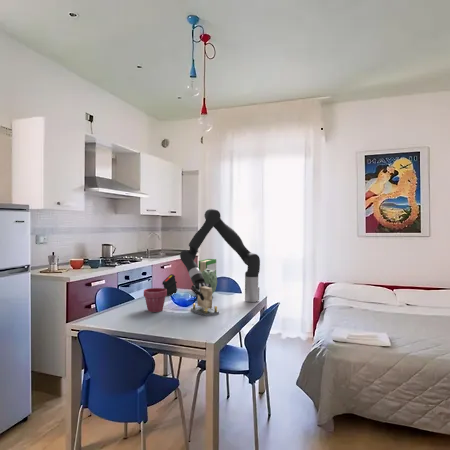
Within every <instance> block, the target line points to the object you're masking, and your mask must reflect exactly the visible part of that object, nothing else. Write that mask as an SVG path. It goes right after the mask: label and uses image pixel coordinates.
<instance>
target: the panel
mask: <svg viewBox="0 0 450 450" xmlns="http://www.w3.org/2000/svg"><path fill="white" fill-rule="evenodd" d="M200 288H201V292H202V294H203V296H204V300H203V301H202V300H201V298H200V296H199V295H197V307H202V308H208V309H210V308H211V309H213V294H212V288H210V287H206V286H201V287H200Z"/></svg>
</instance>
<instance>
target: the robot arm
mask: <svg viewBox="0 0 450 450" xmlns="http://www.w3.org/2000/svg"><path fill="white" fill-rule="evenodd" d="M204 220H205V221H204V223H203V224H202V225H201V227H200V228H199V230H198V231H196V232H195V234H194V235H193V237H192V238H191V240H190V242H189V243H188V247H189V250H188V249H182V250H181V251H180V253H179V258H180V260H181V262H182V263H183V265H184V267H186V269H187V274H188V275H189V279H190V280H191V282H192V284H193V285H191V287H190V289H191V290H192V292H193V293H194V294H195V296H198V295H199V296H200V298H201V300H202V301H203V300H204V296H203V294H202V292H201V288H200V287H201V286H207V287H210V288H211V284H206V283H205V281H204V278H203V276H202V273H201V271H200V270H199V265H198V264H197V262H196V261H195V259H196V257H197V254H198V251H199V248H200V247H201V246H202V244H203V242H204V240H205V239H206V237H207V236H208V234H209V233H210V232H211V230H212V229H213V228H214V229H215V230H216V231H217V233H218V234H219V236H221V238H222V239H223V240H224V241H225V242H226V244H228V245H229V247H230V248H232V250H233V251H234V252H235V253H236V254H238V257H239V258H240V259H241V260H242V262H243V263H244V264H245V266H247V270H246V271H245V273H244V302H247V303H257V302H259V301H260V286H259V273H260V269H261V268H260V267H261V258H260V256H259V255H258V254H257V253H252V252H251V251H250V250H249V249H248V248H247V247H246V246H245V245H244V242H243V240H242V239H241V237H240V235H239V234H238V233H237V232H236V231H235V230H234V229H233V228H232V227H230V226H229V225H228V224H227V223H225V222H224V221H223V219H222V218H221V212H220V211H219V210H218V209H215V208H209V209H207V210H205V212H204ZM258 300H259V301H258ZM256 301H257V302H256Z"/></svg>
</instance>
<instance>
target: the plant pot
mask: <svg viewBox="0 0 450 450" xmlns="http://www.w3.org/2000/svg"><path fill="white" fill-rule="evenodd" d="M143 297H144V298H145V299H144V300H145V305H146V309H147V312H150V313H159V312H162V311H163V310H164V306H165V302H166V297H168V296H167V289H164V287H152V288H146V289H144V290H143Z"/></svg>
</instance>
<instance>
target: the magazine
mask: <svg viewBox="0 0 450 450" xmlns="http://www.w3.org/2000/svg"><path fill="white" fill-rule="evenodd" d="M177 284H178V282H177V280H176V275H175V274H169V275H168V276H167V277H166V278H165V279H164V280H163V281H162V283H161V285H163V288H164V289H167V296H166V297H169V296H173V295H172V294H173V293H176V292H178V288H177V287H178V286H177Z"/></svg>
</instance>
